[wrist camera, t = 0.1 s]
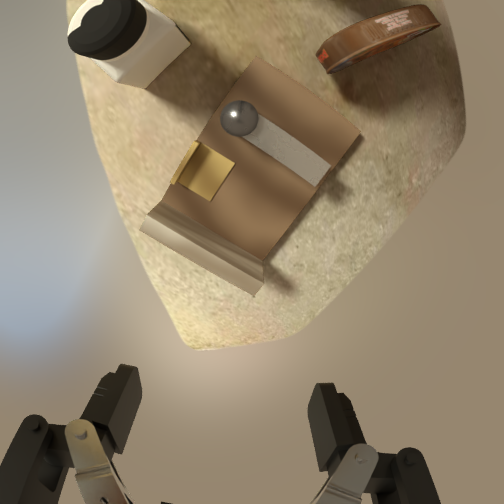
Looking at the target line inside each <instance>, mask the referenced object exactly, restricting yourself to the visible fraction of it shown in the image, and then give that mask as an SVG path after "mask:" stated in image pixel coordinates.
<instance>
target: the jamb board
mask: <svg viewBox="0 0 504 504" xmlns="http://www.w3.org/2000/svg"><path fill="white" fill-rule="evenodd" d="M237 100H242V101H246V102H249V103H250V104H252V105H253V106H254V107H255V108H256V110H257V112H258V114H260V115H261V116H263V117H264V118H266V119H267V120H269V121H270V122H272V123H273V124H275V125H276V126H278V127H279V128H281V129H282V130H284V131H285V132H287V133H288V134H289V135H291V136H292V137H294V138H295V139H296V140H298V141H299V142H301V143H302V144H303V145H305V146H306V147H307V148H309V149H310V150H311V151H313V152H314V153H315V154H317V155H318V156H319V157H321V158H322V159H323V160H325V161H326V162H327V163H329V164H330V165H331V167H330V168H329V169H328V171H327V172H326V173H325V175H324V176H323V177H322V179H321V180H320V181H319V183H318V184H317V185H316V186H315V187H314V186H313V185H312V184H310V183H309V182H308V181H306V180H305V179H303V178H302V177H301V176H299V175H298V174H296V173H295V172H294V171H292V170H291V169H289V168H288V167H287V166H285V165H284V164H282V163H281V162H279V161H278V160H276V159H275V158H273V157H272V156H270V155H269V154H268V153H266V152H265V151H263V150H261V149H260V148H258V147H257V146H255V145H254V144H252V143H251V142H249V141H248V140H246V139H245V138H243V137H236V136H232V135H230V134H228V133H227V132H226V131H225V130H224V129H223V128H222V126H221V123H220V115H221V112H222V110H223V108H224V107H225V106H226V105H227V104H229V103H230V102H233V101H237ZM360 132H361V131H360V130H359V129H358V128H357V127H355V126H354V125H353V124H352V123H351V122H349V121H348V120H347V119H346V118H345V117H343V116H342V115H341V114H340V113H339V112H337V111H336V110H335V109H333V108H332V107H331V106H330V105H328V104H327V103H326V102H324V101H323V100H322V99H320V98H319V97H318V96H316V95H315V94H314V93H312V92H311V91H310V90H308V89H307V88H305V87H304V86H302V85H301V84H300V83H298V82H297V81H295V80H294V79H292V78H291V77H289V76H288V75H286V74H285V73H283V72H282V71H280V70H279V69H277V68H275V67H274V66H272V65H271V64H269V63H267V62H266V61H264V60H262V59H261V58H259V57H257V56H256V57H255V58H254V59H253V60H252V62H251V63H250V64H249V65H248V67H247V68H246V69H245V71H244V72H243V73H242V75H241V76H240V77H239V79H238V80H237V81H236V83H235V84H234V85H233V87H232V88H231V90H230V91H229V92H228V94H227V95H226V97H225V98H224V99H223V101H222V102H221V104H220V105H219V107H218V108H217V110H216V111H215V113H214V114H213V116H212V117H211V119H210V120H209V122H208V123H207V125H206V126H205V128H204V129H203V131H202V132H201V134H200V135H199V137H198V139H197V140H196V141H194V142H193V144H192V145H191V147H190V149H189V150H188V152H187V153H186V155H185V157H184V158H183V160H182V162H181V164H180V165H179V167H178V169H177V170H176V172H175V174H174V176H173V177H172V179H171V181H170V183H171V184H170V186H169V188H168V189H167V191H166V193H165V195H164V197H163V199H162V200H161V201H160V202H159V203H158V204H157V205H156V206H155V207H154V208H153V209H152V210H151V211H150V212H149V213H148V214H147V215H146V217H145V219H144V221H143V223H142V225H141V228H140V231H142V232H143V233H145V234H147V235H148V236H150V237H152V238H153V239H155V240H157V241H158V242H160V243H162V244H163V245H165V246H167V247H168V248H170V249H172V250H174V251H175V252H177V253H179V254H180V255H182V256H184V257H186V258H187V259H189V260H191V261H192V262H194V263H196V264H198V265H199V266H201V267H203V268H205V269H206V270H208V271H210V272H212V273H213V274H215V275H217V276H219V277H220V278H222V279H224V280H226V281H228V282H229V283H231V284H233V285H235V286H237V287H238V288H240V289H242V290H244V291H246V292H248V293H249V294H251V295H253V296H254V295H255V294H256V293H257V292H258V291H259V289H260V288H261V287H262V286H263V285H264V275H263V263H262V261H263V260H264V258H265V257H266V256H267V254H268V253H269V252H270V251H271V249H272V248H273V247H274V245H275V244H276V243H277V242H278V240H279V239H280V238H281V236H282V235H283V234H284V232H285V231H286V230H287V229H288V227H289V226H290V225H291V223H292V222H293V221H294V219H295V218H296V217H297V216H298V214H299V213H300V212H301V210H302V209H303V208H304V206H305V205H306V204H307V202H308V201H309V200H310V199H311V197H312V196H313V195H314V193H315V192H316V191H317V189H318V188H319V187H320V185H321V184H322V183H323V181H324V180H325V179H326V178H327V176H328V175H329V174H330V172H331V171H332V170H333V168H334V167H335V166H336V164H337V163H338V162H339V160H340V159H341V158H342V156H343V155H344V154H345V152H346V151H347V150H348V148H349V147H350V146H351V144H352V143H353V142H354V140H355V139H356V138H357V136H358V135H359V134H360Z"/></svg>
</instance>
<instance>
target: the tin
mask: <svg viewBox="0 0 504 504" xmlns="http://www.w3.org/2000/svg"><path fill="white" fill-rule="evenodd" d="M440 25H441V24H440V23H439V22H438V21H437V19H436V18H435V16H434V15H433V13H432V12H431V11H430V9H429V8H428V7H427V6H425V5H422V4H420V5H413V6H409V7H404V8H400V9H397V10H393V11H390V12H386V13H383V14H380V15H377V16H374V17H371V18H368V19H366V20H363V21H360V22H358V23H355V24H353V25H351V26H349V27H347V28H345V29H343V30H341V31H339V32H338V33H336V34H334V35H333V36H331V37H330V38H329V39H327V40H326V41H325V42H324V43H323V44H322V45H321V47H320V49H319V50H318V51H317V53H316V57H317V58H318V60H319V61H320V63H321V64H322V65H323V67H324V68H325V69H326V73H327V74H331V73H334V72H337V71H339V70H342V69H344V68H346V67H348V66H351V65H353V64H355V63H357V62H359V61H361V60H364V59H366V58H368V57H371V56H373V55H375V54H378V53H380V52H382V51H385V50H387V49H390V48H392V47H395V46H397V45H400V44H402V43H405V42H407V41H409V40H412V39H414V38H416V37H418V36H420V35H423V34H425V33H427V32H429V31H431V30H433V29H436V28H437V27H439V26H440Z"/></svg>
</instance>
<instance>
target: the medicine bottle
mask: <svg viewBox="0 0 504 504" xmlns="http://www.w3.org/2000/svg"><path fill="white" fill-rule="evenodd" d="M68 43H69V46H70V48H71V49H72V50H73V51H74V52H75V53H77V54H79V55H82V56H86V57H89V58H90V59H91V60H92V61H94V62H95V63H96V64H97V65H98V66H99V67H100V68H101V69H102V70H103V71H104V72H106V73H107V74H108V75H109V76H110V77H111V78H112V79H113V80H114V81H115V82H117V83H121V84H126V85H130V86H134V87H138V88H142V89H145V88H147V87H148V85H149V84H150V83H151V82H152V81H153V80H154V79H155V78H156V77H157V76H158V75H159V74H160V73H161V72H162V71H163V70H164V69H165V68H166V67H167V66H168V65H169V64H170V63H171V62H172V61H173V60H175V59H176V58H177V57H178V56H179V55H180V54H181V53H182V52H183V51H184V50H185V49H187V48H188V47H189V46H190V45H191V42H190V41H189V39H188V38H187V37H186V36H185V34H184V33H183V32H182V31H181V30H180V28H179V27H178V26H177V25H176V23H175V22H173V21H172V20H171V19H169V18H168V17H167V16H165V15H164V14H163V13H161V12H160V11H159V10H157V9H156V8H154V7H153V6H152V5H150V4H149V3H147V2H146V1H144V0H87V1H86V2H85V3H84V4H83V5H82V6H81V7H80V8H79V9H78V10H77V11H76V13H75V14H74V16H73V18H72V20H71V22H70V25H69V28H68Z"/></svg>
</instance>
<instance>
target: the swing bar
mask: <svg viewBox="0 0 504 504" xmlns="http://www.w3.org/2000/svg"><path fill="white" fill-rule="evenodd" d="M220 123H221V126H222V128H223V129H224V130H225V131H226V132H227V133H228V134H230V135H232V136H236V137H243V138H245V139H246V140H248V141H249V142H251V143H252V144H254V145H255V146H257V147H258V148H260V149H261V150H263V151H265V152H266V153H268V154H269V155H270V156H272V157H273V158H275V159H276V160H278V161H279V162H281V163H282V164H284V165H285V166H287V167H288V168H289V169H291V170H292V171H294V172H295V173H296V174H298V175H299V176H301V177H302V178H303V179H305V180H306V181H308V182H309V183H310V184H312V185H313V186H314V187H315V186H316V185H317V184H318V183H319V181H320V180H321V179H322V177H323V176H324V175H325V173H326V172H327V171H328V169H329V168H330V167H331V165H330V164H329V163H327V162H326V161H325V160H323V159H322V158H321V157H319V156H318V155H317V154H315V153H314V152H313V151H311V150H310V149H309V148H307V147H306V146H305V145H303V144H302V143H301V142H299V141H298V140H296V139H295V138H294V137H292V136H291V135H289V134H288V133H287V132H285V131H284V130H282V129H281V128H279V127H278V126H276V125H275V124H273V123H272V122H270V121H269V120H267V119H266V118H264V117H263V116H261V115H260V114H258V112H257V110H256V108H255V107H254V106H253V105H252V104H250V103H249V102H246V101H242V100H237V101H233V102H230V103H229V104H227V105H226V106H225V107H224V108H223V110H222V112H221V115H220Z"/></svg>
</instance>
